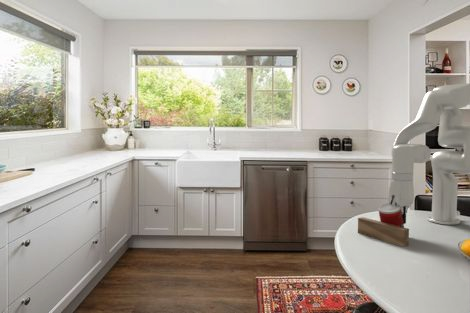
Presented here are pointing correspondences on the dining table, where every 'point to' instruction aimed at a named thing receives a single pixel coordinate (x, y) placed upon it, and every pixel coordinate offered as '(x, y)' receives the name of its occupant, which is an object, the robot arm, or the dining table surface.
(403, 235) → the walnut board
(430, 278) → the dining table surface
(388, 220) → the canned food
